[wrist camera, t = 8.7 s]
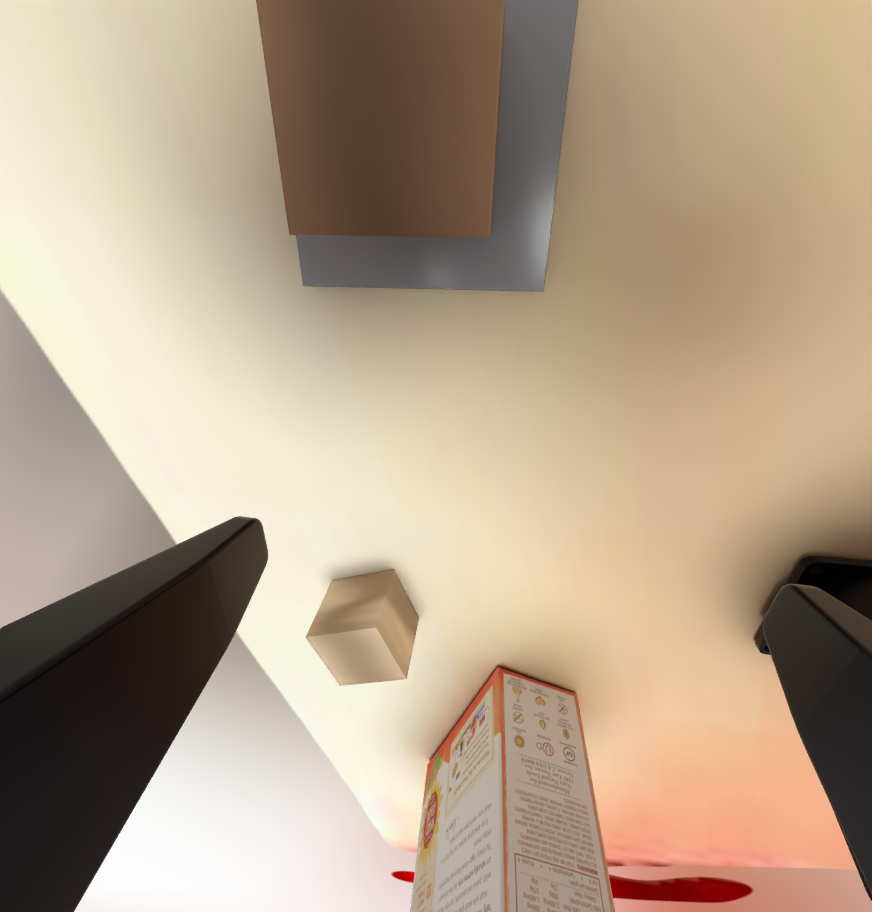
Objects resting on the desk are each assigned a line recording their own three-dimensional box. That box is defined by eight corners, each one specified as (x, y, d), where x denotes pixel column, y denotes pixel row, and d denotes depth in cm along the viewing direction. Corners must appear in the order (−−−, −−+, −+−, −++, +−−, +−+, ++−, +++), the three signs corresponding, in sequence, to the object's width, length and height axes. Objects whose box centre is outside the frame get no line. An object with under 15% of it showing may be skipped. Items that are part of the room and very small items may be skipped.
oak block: (394, 568, 24) (376, 627, 20) (419, 616, 26) (406, 679, 22) (332, 579, 25) (305, 637, 22) (360, 625, 27) (339, 685, 23)
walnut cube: (504, 32, 12) (506, -70, 8) (491, 231, 15) (487, 237, 10) (334, 39, 13) (248, -54, 8) (349, 229, 15) (289, 234, 11)
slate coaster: (584, -70, 11) (588, -84, 11) (541, 288, 16) (543, 291, 15) (265, -48, 12) (255, -59, 12) (309, 283, 17) (303, 285, 16)
